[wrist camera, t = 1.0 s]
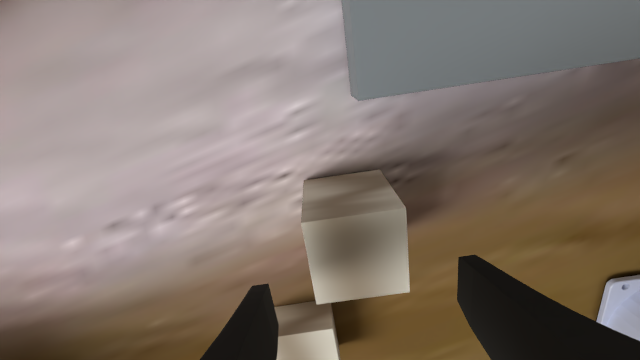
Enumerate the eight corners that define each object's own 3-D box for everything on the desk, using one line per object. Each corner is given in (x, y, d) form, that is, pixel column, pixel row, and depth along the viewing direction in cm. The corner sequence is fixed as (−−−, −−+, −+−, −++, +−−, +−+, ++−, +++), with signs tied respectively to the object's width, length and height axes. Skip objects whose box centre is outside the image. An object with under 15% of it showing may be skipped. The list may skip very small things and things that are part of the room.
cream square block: (379, 169, 17) (406, 208, 12) (384, 235, 18) (409, 292, 14) (303, 180, 17) (301, 222, 12) (315, 245, 19) (316, 304, 14)
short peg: (330, 298, 20) (332, 328, 18) (338, 344, 22) (342, 377, 20) (267, 308, 20) (261, 338, 18) (280, 353, 22) (276, 386, 20)
